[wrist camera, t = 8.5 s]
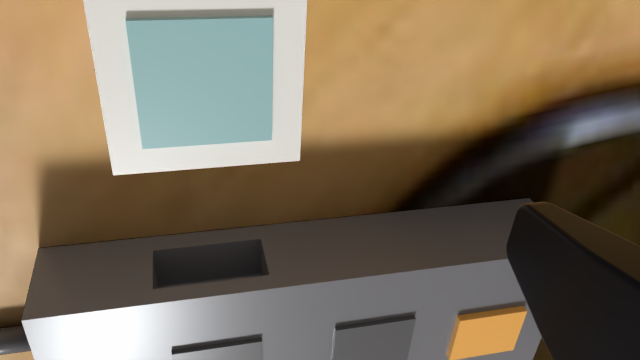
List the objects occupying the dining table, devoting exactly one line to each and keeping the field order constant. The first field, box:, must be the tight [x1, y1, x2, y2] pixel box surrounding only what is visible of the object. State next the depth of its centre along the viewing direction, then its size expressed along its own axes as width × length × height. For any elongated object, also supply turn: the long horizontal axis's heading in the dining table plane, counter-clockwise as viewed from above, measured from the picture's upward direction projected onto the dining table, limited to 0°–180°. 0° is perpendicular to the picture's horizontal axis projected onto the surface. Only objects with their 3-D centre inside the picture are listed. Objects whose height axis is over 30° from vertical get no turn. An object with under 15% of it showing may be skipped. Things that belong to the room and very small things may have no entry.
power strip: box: [0, 198, 542, 360], centre depth 23 cm, size 25×7×4 cm, turn 87°
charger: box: [83, 0, 307, 175], centre depth 16 cm, size 4×7×6 cm
